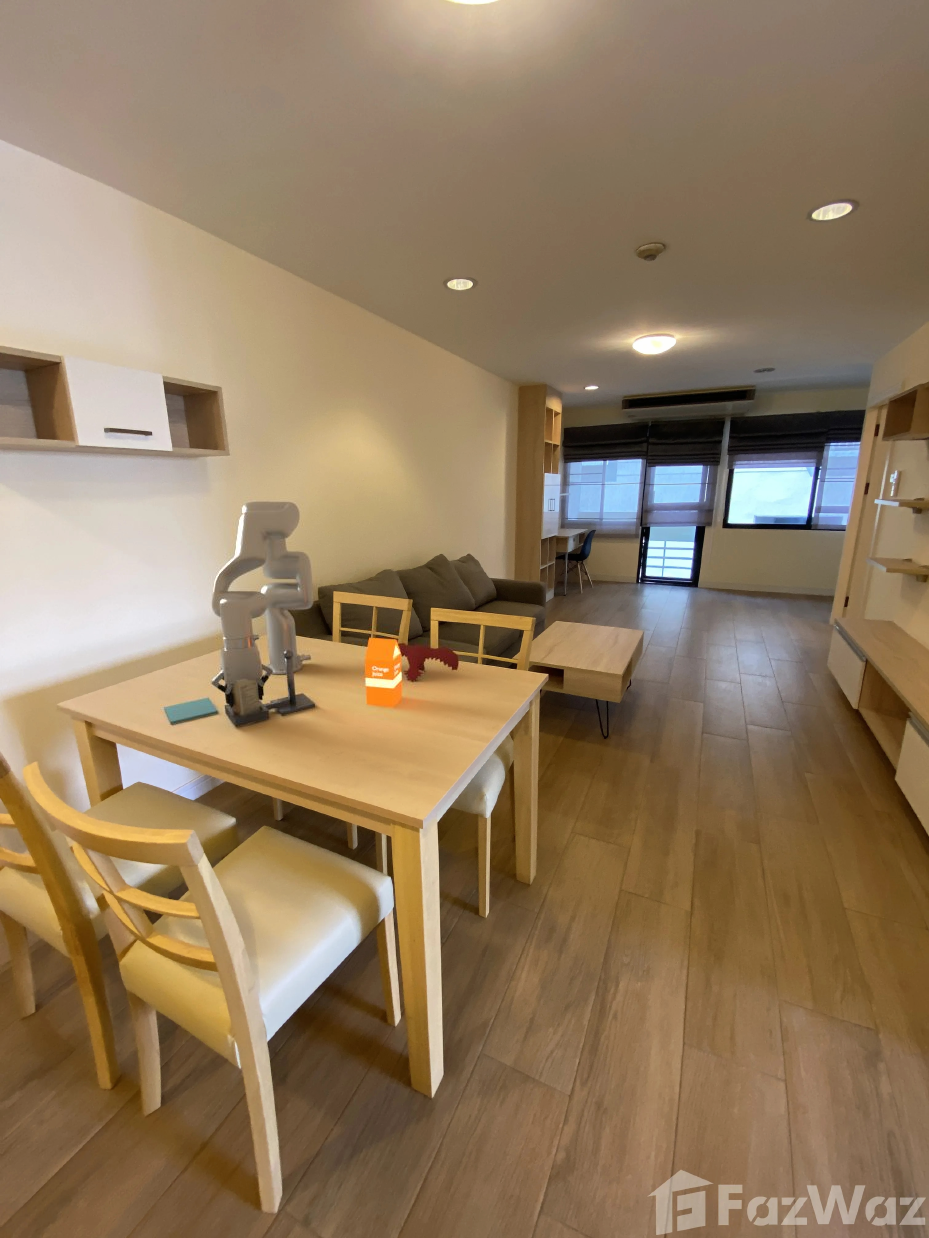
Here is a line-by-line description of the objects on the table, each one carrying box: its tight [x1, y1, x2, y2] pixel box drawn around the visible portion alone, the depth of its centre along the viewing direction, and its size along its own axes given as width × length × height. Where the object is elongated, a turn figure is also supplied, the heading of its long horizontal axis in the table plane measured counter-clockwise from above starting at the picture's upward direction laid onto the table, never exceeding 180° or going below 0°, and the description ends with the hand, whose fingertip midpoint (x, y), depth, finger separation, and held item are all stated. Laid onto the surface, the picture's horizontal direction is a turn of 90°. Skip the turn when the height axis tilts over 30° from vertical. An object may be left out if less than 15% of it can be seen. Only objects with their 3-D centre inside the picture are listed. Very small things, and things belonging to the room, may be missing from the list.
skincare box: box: [231, 679, 261, 716], centre depth 141 cm, size 6×4×12 cm
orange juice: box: [364, 637, 403, 708], centre depth 152 cm, size 8×9×20 cm
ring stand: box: [224, 650, 316, 728], centre depth 144 cm, size 22×11×18 cm, turn 128°
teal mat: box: [163, 696, 219, 725], centre depth 146 cm, size 12×12×1 cm
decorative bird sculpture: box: [397, 642, 460, 682], centre depth 175 cm, size 28×9×15 cm
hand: (245, 701), depth 141 cm, fingers closed on skincare box, 7 cm apart
